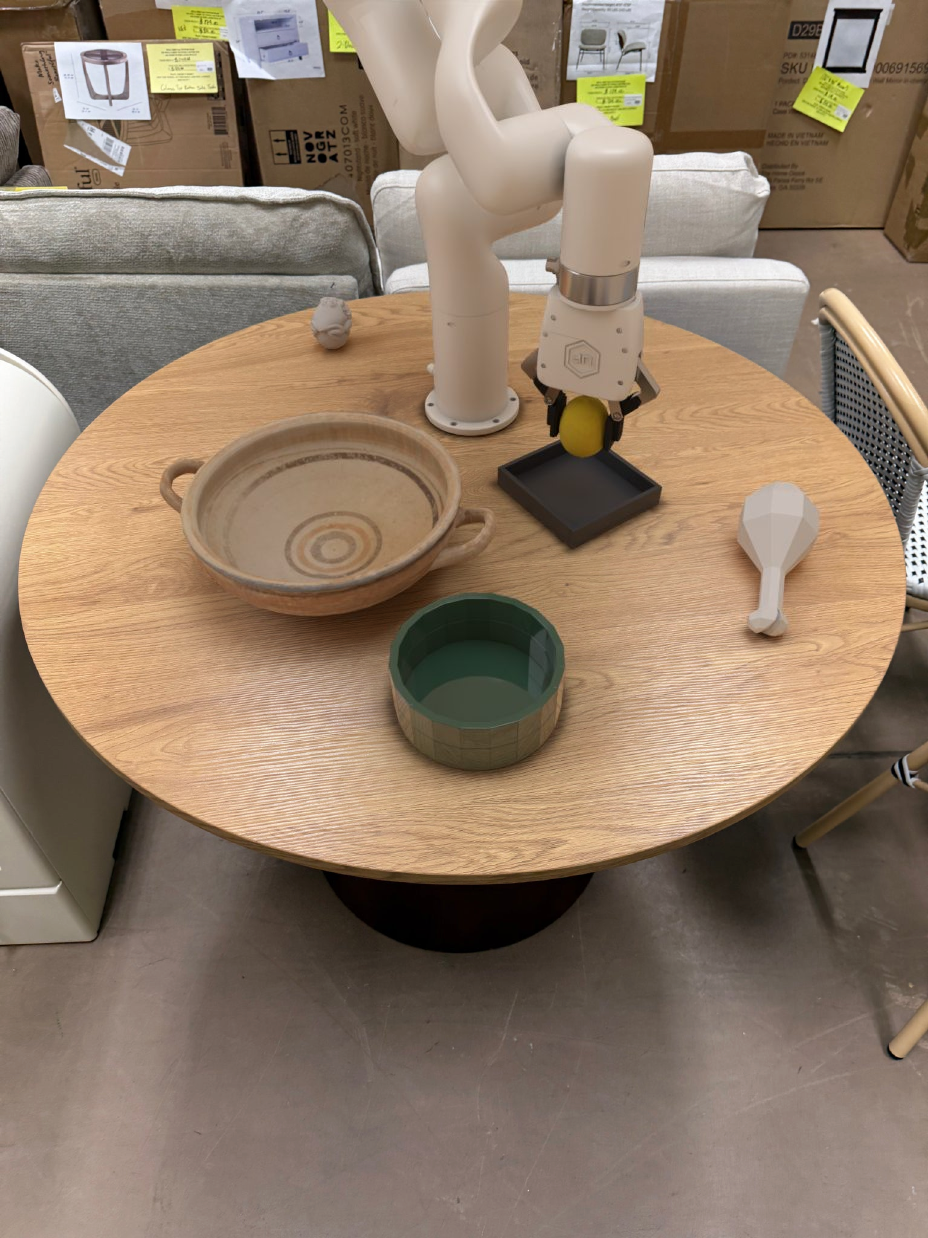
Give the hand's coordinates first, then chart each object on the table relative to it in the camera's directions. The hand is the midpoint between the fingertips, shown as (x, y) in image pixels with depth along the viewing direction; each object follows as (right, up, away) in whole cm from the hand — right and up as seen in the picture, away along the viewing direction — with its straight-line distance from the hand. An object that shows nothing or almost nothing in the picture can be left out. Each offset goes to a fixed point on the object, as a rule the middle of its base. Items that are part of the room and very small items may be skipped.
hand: (583, 435), depth 91 cm
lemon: (0, -2, +2) cm, 3 cm away
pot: (-12, -28, -14) cm, 33 cm away
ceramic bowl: (-28, -14, 0) cm, 31 cm away
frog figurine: (-33, +20, +31) cm, 49 cm away
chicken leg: (+19, -17, -4) cm, 25 cm away
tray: (0, -6, +6) cm, 8 cm away
